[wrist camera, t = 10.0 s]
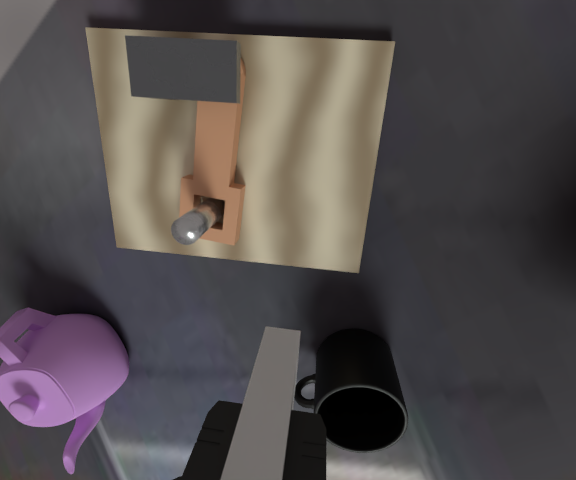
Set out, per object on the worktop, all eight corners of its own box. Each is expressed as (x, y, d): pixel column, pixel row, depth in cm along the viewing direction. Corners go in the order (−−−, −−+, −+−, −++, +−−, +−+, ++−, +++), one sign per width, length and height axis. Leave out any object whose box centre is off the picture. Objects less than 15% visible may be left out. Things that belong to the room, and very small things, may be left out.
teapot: (88, 408, 50) (26, 483, 40) (15, 299, 44) (-81, 355, 34) (162, 395, 47) (116, 473, 37) (95, 277, 41) (17, 331, 31)
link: (239, 238, 35) (234, 245, 33) (186, 228, 36) (178, 234, 34) (261, 55, 29) (256, 51, 27) (196, 44, 29) (187, 39, 27)
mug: (290, 333, 41) (280, 390, 32) (387, 323, 39) (404, 380, 30) (304, 391, 44) (299, 456, 35) (395, 384, 42) (412, 452, 33)
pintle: (226, 197, 34) (197, 219, 27) (226, 218, 35) (199, 246, 27) (204, 195, 34) (169, 216, 27) (205, 216, 35) (172, 243, 28)
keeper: (250, 51, 29) (236, 40, 25) (249, 104, 31) (236, 103, 26) (154, 47, 30) (124, 35, 25) (158, 99, 31) (131, 96, 27)
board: (392, 44, 28) (395, 41, 27) (357, 268, 36) (358, 273, 35) (94, 30, 31) (85, 27, 30) (122, 243, 39) (116, 247, 38)
